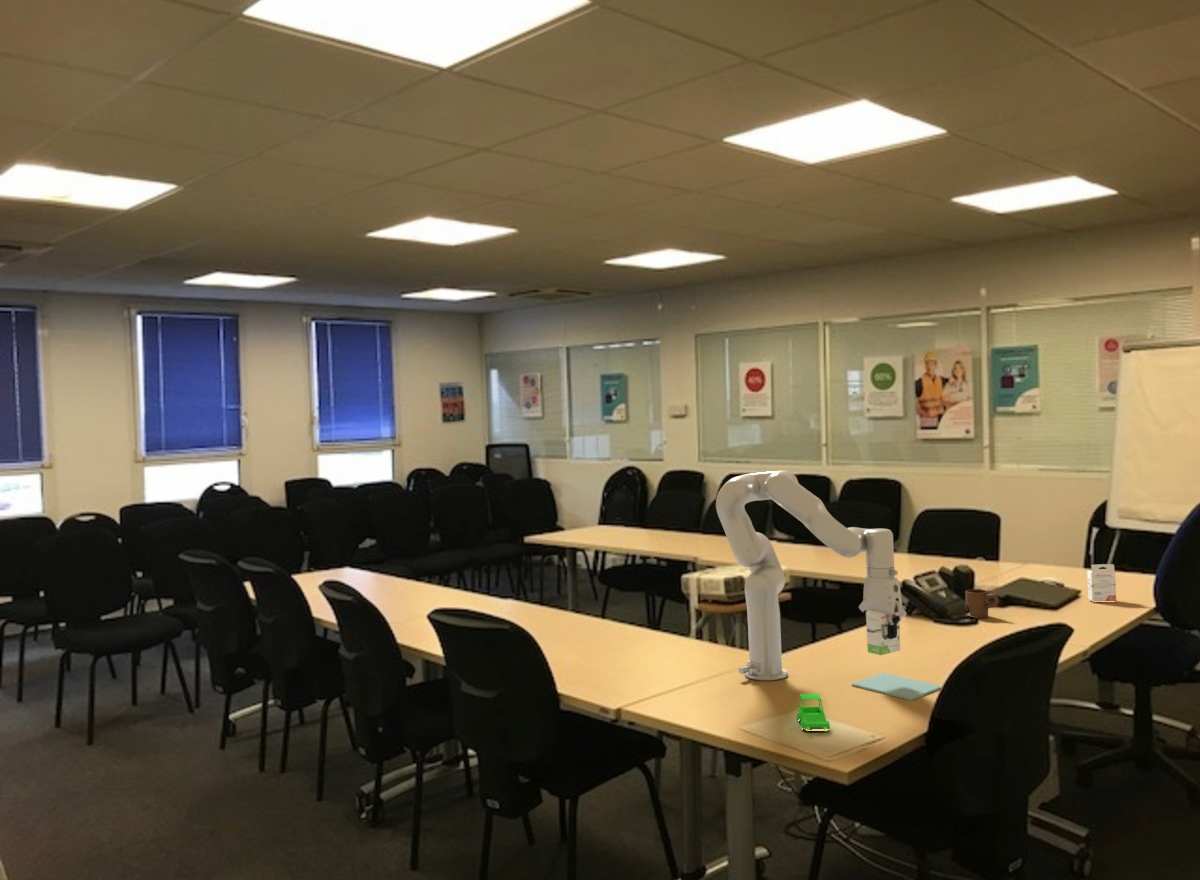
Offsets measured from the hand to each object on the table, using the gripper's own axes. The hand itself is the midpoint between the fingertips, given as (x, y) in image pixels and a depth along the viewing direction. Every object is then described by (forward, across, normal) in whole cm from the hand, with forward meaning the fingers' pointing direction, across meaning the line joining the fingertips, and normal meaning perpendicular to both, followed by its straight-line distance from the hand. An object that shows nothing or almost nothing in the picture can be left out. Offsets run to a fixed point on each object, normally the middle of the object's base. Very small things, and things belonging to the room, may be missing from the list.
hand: (883, 635), depth 261 cm
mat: (+14, -4, 0) cm, 14 cm away
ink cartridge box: (+15, +3, -144) cm, 145 cm away
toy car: (+14, -7, +41) cm, 44 cm away
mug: (+14, +22, -92) cm, 96 cm away
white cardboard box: (+5, 0, 0) cm, 5 cm away
